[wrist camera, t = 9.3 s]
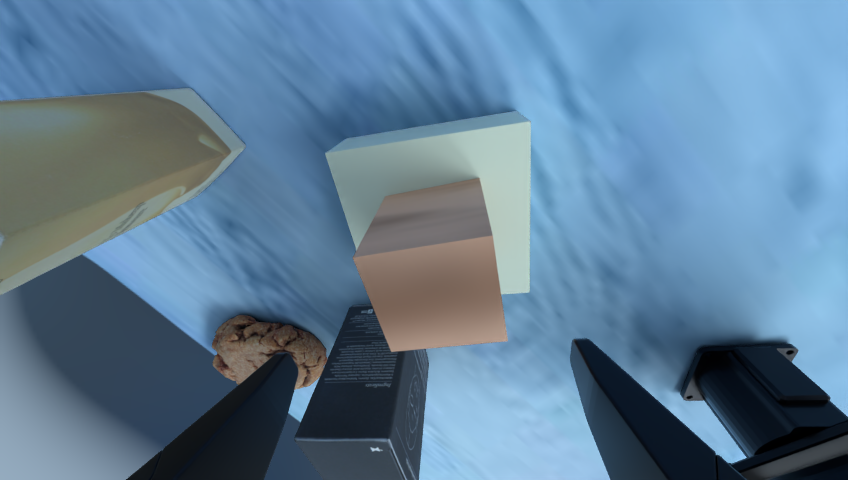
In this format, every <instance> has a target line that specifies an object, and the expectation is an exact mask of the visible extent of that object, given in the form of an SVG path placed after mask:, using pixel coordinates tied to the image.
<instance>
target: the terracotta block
mask: <svg viewBox="0 0 848 480" xmlns="http://www.w3.org/2000/svg"><path fill="white" fill-rule="evenodd" d="M353 260H354V262H355V265H356V267H357V270H358V272H359V275H360V277H361V279H362V282H363V284H364V287H365V289H366V292H367V294H368V296H369V299H370V301H371V304H372V306H373V309H374V311H375V313H376V316H377V318H378V321H379V323H380V326H381V328H382V330H383V333H384V335H385V338H386V340H387V343H388V345H389V347H390V350H391V352H396V351H406V350H417V349H428V348H439V347H449V346H460V345H471V344H482V343H492V342H503V341H508V339H507V332H506V325H505V318H504V311H503V304H502V297H501V290H500V283H499V276H498V269H497V262H496V255H495V248H494V241H493V235H492V230H491V226H490V222H489V217H488V213H487V208H486V204H485V200H484V195H483V191H482V187H481V182H480V178H476V179H471V180H466V181H460V182H455V183H450V184H445V185H440V186H435V187H430V188H425V189H420V190H414V191H409V192H404V193H399V194H394V195H389V196H385V198H384V200H383V201H382V203H381V205H380V207H379V209H378V211H377V213H376V215H375V217H374V218H373V220H372V222H371V224H370V226H369V228H368V230H367V232H366V233H365V235H364V237H363V239H362V241H361V243H360V245H359V247H358V248H357V250H356V252H355V254H354V256H353Z"/></svg>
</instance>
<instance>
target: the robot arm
mask: <svg viewBox="0 0 848 480" xmlns="http://www.w3.org/2000/svg"><path fill="white" fill-rule="evenodd" d="M797 352H798V349H797V348H796V347H794V346H793V345H792V344H768V345H741V346H715V347H703V348H701V349H699V350H698V352H697V354H696V357H695V359H694V361H693V364H692V366H691V369H690V371H689V374H688V376H687V378H686V381H685V383H684V386H683V388H682V390H681V393H680V395H681V396H682V398H683V399H684V400H686V401H702V400H704V401H705V402H706V403H707V405H708V406H709V407H710V409H711V410H712V411H713V413H714V414H715V416H716V417H717V418H718V420H719V421H720V422H721V424H722V425H723V426H724V428H725V429H726V430H727V432H728V433H729V434H730V436H731V437H732V438H733V440H734V441H735V442H736V444H737V445H738V447H739V448H740V449H741V451H742V452H743V453H744V455H745V456H746V457H747V458H746V459H743V460H740V461H738V462H735V463H732V464H731V463H727V462H726V461H725V460H724V459H723V458H722V457H721V456H719V455H716V453H715V451H714V450H713V449H711V448H710V447H709V446H708V445H707V444H706V443H705V442H704V441H702V440H701V439H700V438H699V437H698V436H697V435H696V434H695V433H693V432H692V431H691V430H690V429H689V428H688V427H687V426H686V425H685V424H683V423H682V422H681V421H680V420H679V419H678V418H677V417H676V416H674V415H673V414H672V413H671V412H670V411H669V410H668V409H667V408H665V407H664V406H663V405H662V404H661V403H660V402H659V401H658V400H657V399H655V398H654V397H653V396H652V395H651V394H650V393H649V392H648V391H646V390H645V389H644V388H643V387H642V386H641V385H640V384H639V383H637V382H636V381H635V380H634V379H633V378H632V377H631V376H630V375H629V374H627V373H626V372H625V371H624V370H623V369H622V368H621V367H620V366H618V365H617V364H616V363H615V362H614V361H613V360H612V359H611V358H609V357H608V356H607V355H606V354H605V353H604V352H603V351H602V350H601V349H599V348H598V347H597V346H596V345H595V344H594V343H593V342H592V341H590V340H589V339H586V338H582V339H573V341H572V346H571V355H570V362H571V367H572V370H573V374H574V377H575V381H576V384H577V388H578V391H579V395H580V398H581V402H582V405H583V409H584V412H585V416H586V419H587V422H588V424H589V427H590V430H591V432H592V435H593V437H594V440H595V442H596V445H597V447H598V450H599V452H600V455H601V457H602V460H603V462H604V465H605V467H606V470H607V472H608V475H609V477H610V480H848V417H847V416H846V415H845V414H844V413H843V412H842V411H841V410H839V409H838V408H837V407H836V406H835V405H834V404H833V403H832V402H831V401H829V400H830V396H829V395H828V394H827V393H826V392H824V391H823V390H822V389H821V388H820V387H819V386H818V385H816V384H815V383H814V382H813V381H812V380H811V379H810V378H809V377H807V376H806V375H805V374H804V373H803V372H802V371H801V370H800V369H798V368H797V367H796V366H795V365H794V364H793V363H792V360H793V359H794V357H795V356H796V354H797ZM298 373H299V371H298V367H297V365H296V363H295V361H294V360H293V358H292V356H291V355H290V354H289V353H287V352H286V353H277V354H275V355H273V356H272V357H271V358H270V359H269V360H268V361H266V362H265V363H264V364H263V365H262V366H260V367H259V368H258V369H257V370H256V371H255V372H253V373H252V374H251V375H250V376H249V377H247V378H246V379H245V380H244V381H243V382H242V383H240V384H239V385H238V386H237V387H236V388H235V389H233V390H232V391H231V392H230V393H229V394H227V395H226V396H225V397H224V398H223V399H222V400H220V401H219V402H218V403H217V404H216V405H214V406H213V407H212V408H211V409H210V410H208V411H207V412H206V413H205V414H204V415H203V416H201V417H200V418H199V419H198V420H197V421H196V422H194V423H193V424H192V425H191V426H190V427H188V428H187V429H186V430H185V431H184V432H182V433H181V434H180V435H179V436H178V437H177V438H175V439H174V440H173V441H172V442H171V443H170V444H168V445H167V446H166V447H165V448H164V449H163V451H160V452H159V453H158V454H156V455H155V456H154V457H153V458H152V459H150V460H149V461H148V462H147V463H146V464H145V465H143V466H142V467H141V468H140V469H139V470H137V471H136V472H135V473H134V474H132V475H131V476H130V477H129V478H128V479H126V480H264V478H265V475H266V473H267V470H268V467H269V465H270V462H271V459H272V456H273V454H274V451H275V448H276V446H277V443H278V441H279V438H280V435H281V433H282V430H283V427H284V424H285V421H286V418H287V415H288V411H289V407H290V404H291V400H292V396H293V393H294V389H295V385H296V382H297V378H298Z"/></svg>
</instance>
